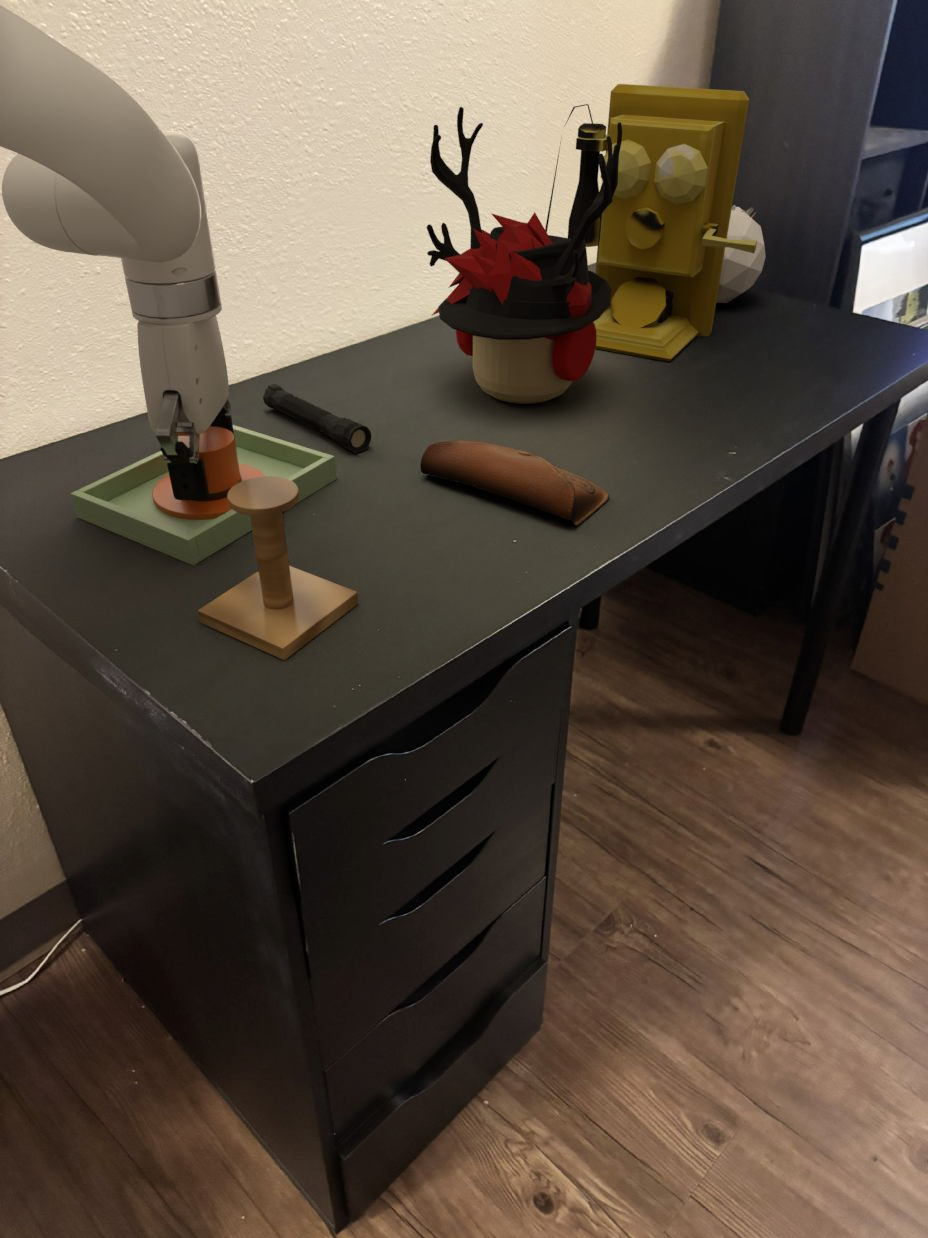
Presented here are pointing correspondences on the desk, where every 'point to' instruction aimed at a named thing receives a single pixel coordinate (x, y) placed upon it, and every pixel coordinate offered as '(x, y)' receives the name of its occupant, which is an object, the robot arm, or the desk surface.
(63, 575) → the desk surface
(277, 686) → the desk surface
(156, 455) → the tray
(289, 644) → the hat stand
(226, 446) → the small hat
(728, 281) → the geodesic sphere
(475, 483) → the sunglasses case
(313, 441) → the desk surface
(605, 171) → the decorative hat
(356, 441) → the flashlight
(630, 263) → the vintage telephone
